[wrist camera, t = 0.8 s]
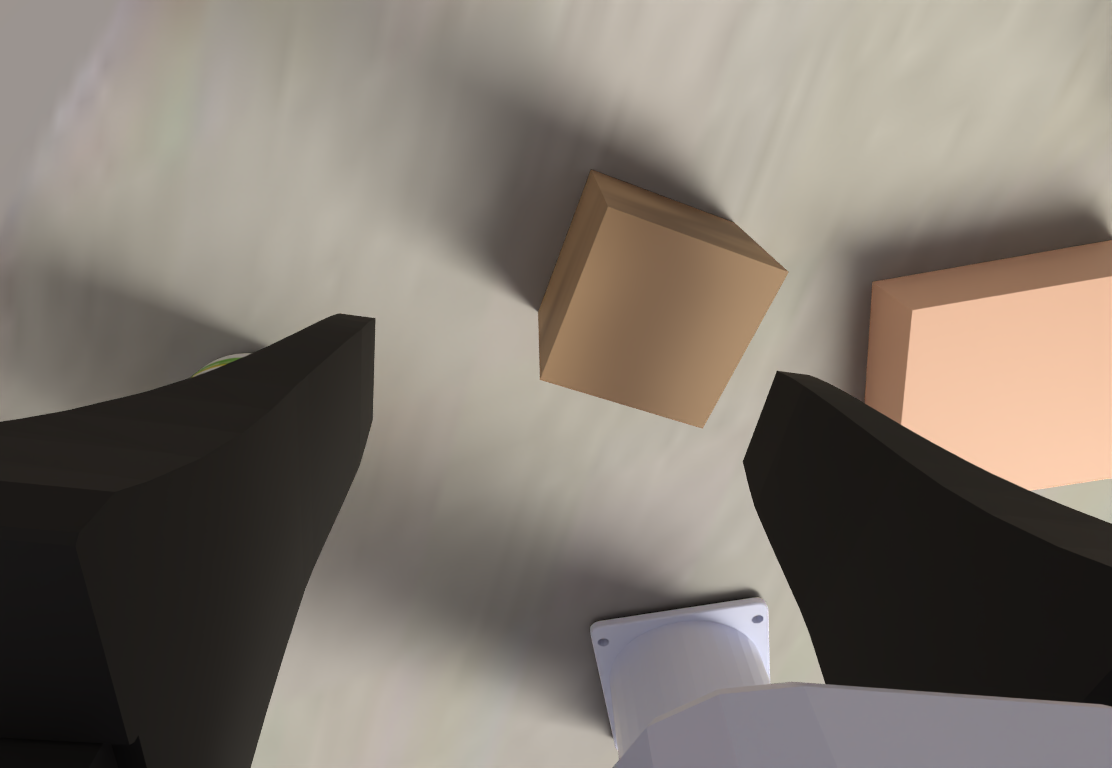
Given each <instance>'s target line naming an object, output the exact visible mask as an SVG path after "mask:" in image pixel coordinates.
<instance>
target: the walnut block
mask: <svg viewBox="0 0 1112 768" xmlns="http://www.w3.org/2000/svg"><path fill="white" fill-rule="evenodd" d="M787 274H788V271H787V270H786V269H785V268H784V267H783V266H781V265H780V264H779V263H778V262H777V261H776V260H775V259H774V258H773V257H772V256H770V255H769V254H768V253H767V252H766V251H765V250H764V249H763V248H762V247H761V246H759V245H758V244H757V243H756V242H755V241H754V240H753V239H752V238H751V237H750V236H748V235H747V234H746V233H745V232H744V231H743V230H742V229H741V228H740V227H739V226H738V225H736V224H735V223H734V222H731V221H728V220H726V219H723V218H720V217H718V216H715V215H712V214H710V213H707V212H704V211H702V210H699V209H696V208H694V207H691V206H688V205H685V204H683V203H680V202H677V201H675V200H672V199H669V198H667V197H664V196H661V195H659V194H656V193H653V192H651V191H648V190H645V189H643V188H640V187H637V186H635V185H632V184H629V183H627V182H624V181H621V180H618V179H616V178H613V177H610V176H608V175H605V174H602V173H600V172H597V171H594V170H592V169H591V171H590V173H589V176H588V179H587V181H586V184H585V187H584V190H583V192H582V195H581V198H580V200H579V203H578V206H577V208H576V211H575V214H574V217H573V219H572V222H571V225H570V227H569V230H568V233H567V235H566V238H565V241H564V244H563V246H562V249H561V252H560V254H559V257H558V260H557V263H556V265H555V268H554V271H553V273H552V276H551V279H550V281H549V284H548V287H547V290H546V292H545V295H544V298H543V300H542V303H541V306H540V308H539V311H538V323H539V360H540V380H543V381H546V382H549V383H553V384H556V385H559V386H563V387H566V388H569V389H573V390H576V391H579V392H583V393H586V394H589V395H593V396H596V397H599V398H603V399H606V400H609V401H613V402H616V403H619V404H623V405H626V406H629V407H633V408H636V409H639V410H643V411H646V412H649V413H653V414H656V415H659V416H663V417H666V418H669V419H673V420H676V421H679V422H683V423H686V424H689V425H693V426H696V427H699V428H703V427H704V425H705V423H706V421H707V420H708V418H709V416H710V414H711V412H712V411H713V409H714V407H715V405H716V403H717V401H718V400H719V398H720V396H721V394H722V392H723V390H724V389H725V387H726V385H727V383H728V381H729V380H730V378H731V376H732V374H733V372H734V370H735V369H736V367H737V365H738V363H739V361H740V360H741V358H742V356H743V354H744V352H745V350H746V349H747V347H748V345H749V343H750V341H751V340H752V338H753V336H754V334H755V332H756V330H757V329H758V327H759V325H760V323H761V321H762V319H763V318H764V316H765V314H766V312H767V310H768V309H769V307H770V305H771V303H772V301H773V299H774V298H775V296H776V294H777V292H778V290H779V289H780V287H781V285H782V283H783V281H784V279H785V278H786V276H787Z"/></svg>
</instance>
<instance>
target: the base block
mask: <svg viewBox="0 0 1112 768" xmlns="http://www.w3.org/2000/svg"><path fill="white" fill-rule="evenodd" d="M865 404H867V405H868V406H870V407H872V408H873V409H875V410H877V411H879V412H880V413H882V414H884V415H885V416H887V417H889V418H890V419H892V420H894V421H896V422H897V423H899V424H901V425H902V426H904V427H906V428H908V429H909V430H911V431H913V432H915V433H916V434H918V435H920V436H922V437H924V438H925V439H927V440H929V441H931V442H932V443H934V444H936V445H938V446H940V447H942V448H944V449H945V450H947V451H949V452H951V453H953V454H955V455H957V456H959V457H960V458H962V459H964V460H966V461H968V462H970V463H972V464H974V465H976V466H978V467H980V468H982V469H984V470H986V471H988V472H990V473H992V474H994V475H996V476H998V477H1001V478H1003V479H1005V480H1007V481H1009V482H1012V483H1014V484H1016V485H1018V486H1020V487H1022V488H1025V489H1027V490H1029V491H1031V490H1037V489H1044V488H1050V487H1057V486H1063V485H1070V484H1076V483H1083V482H1089V481H1096V480H1103V479H1109V478H1112V240H1109V241H1103V242H1097V243H1091V244H1086V245H1080V246H1074V247H1069V248H1063V249H1057V250H1052V251H1046V252H1040V253H1034V254H1029V255H1023V256H1017V257H1012V258H1006V259H1000V260H994V261H989V262H983V263H977V264H972V265H966V266H960V267H954V268H949V269H943V270H937V271H932V272H926V273H920V274H914V275H909V276H903V277H897V278H892V279H886V280H880V281H874V282H872V297H871V313H870V328H869V343H868V358H867V373H866V389H865Z"/></svg>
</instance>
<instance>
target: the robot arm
mask: <svg viewBox="0 0 1112 768" xmlns="http://www.w3.org/2000/svg"><path fill="white" fill-rule="evenodd" d="M374 350H375V318H369V317H362V316H354V315H346V314H336V315H333V316H330V317H328V318H326V319H323V320H321V321H319V322H317V323H315V324H313V325H311V326H309V327H307V328H305V329H303V330H301V331H299V332H297V333H295V334H293V335H290V336H288V337H286V338H284V339H282V340H280V341H278V342H276V343H274V344H272V345H270V346H268V347H266V348H263V349H261V350H259V351H256V352H254V353H252V354H249V355H247V356H245V357H242V358H240V359H237V360H235V361H233V362H230V363H228V364H226V365H223V366H221V367H219V368H216V369H214V370H211V371H208V372H206V373H203V374H200V375H197V376H194V377H192V378H189V379H186V380H183V381H179V382H176V383H173V384H170V385H167V386H163V387H160V388H157V389H154V390H150V391H147V392H143V393H140V394H136V395H131V396H127V397H123V398H118V399H114V400H110V401H106V402H101V403H97V404H93V405H89V406H84V407H80V408H76V409H72V410H67V411H62V412H56V413H51V414H45V415H39V416H34V417H28V418H22V419H16V420H10V421H3V422H0V768H251V764H252V761H253V757H254V754H255V750H256V747H257V743H258V740H259V736H260V733H261V729H262V726H263V722H264V719H265V715H266V712H267V708H268V705H269V702H270V699H271V695H272V692H273V689H274V686H275V682H276V679H277V676H278V672H279V669H280V666H281V663H282V659H283V656H284V653H285V650H286V646H287V643H288V640H289V637H290V634H291V631H292V628H293V625H294V622H295V618H296V615H297V612H298V609H299V606H300V603H301V600H302V597H303V594H304V591H305V588H306V586H307V583H308V581H309V578H310V576H311V573H312V571H313V568H314V566H315V564H316V561H317V559H318V557H319V555H320V552H321V550H322V548H323V546H324V544H325V541H326V539H327V537H328V535H329V533H330V530H331V528H332V526H333V524H334V522H335V519H336V517H337V515H338V513H339V511H340V508H341V506H342V504H343V502H344V500H345V497H346V495H347V493H348V491H349V488H350V486H351V484H352V482H353V479H354V477H355V475H356V472H357V470H358V468H359V465H360V462H361V459H362V455H363V452H364V449H365V445H366V442H367V438H368V434H369V431H370V427H371V423H372V420H373V386H374ZM743 464H744V468H745V472H746V476H747V481H748V485H749V489H750V492H751V496H752V499H753V503H754V506H755V509H756V511H757V513H758V516H759V518H760V521H761V523H762V525H763V528H764V530H765V532H766V534H767V537H768V539H769V541H770V544H771V546H772V548H773V550H774V553H775V555H776V557H777V559H778V561H779V564H780V566H781V568H782V570H783V573H784V575H785V577H786V579H787V582H788V584H789V586H790V588H791V590H792V593H793V595H794V597H795V599H796V602H797V604H798V606H799V608H800V611H801V613H802V616H803V618H804V621H805V623H806V626H807V628H808V631H809V634H810V637H811V640H812V643H813V646H814V649H815V652H816V655H817V659H818V662H819V665H820V668H821V671H822V674H823V677H824V681H825V684H815V683H801V682H785V683H775V684H771V683H770V657H769V618H768V607H767V604H766V602H765V600H764V599H762V598H759V597H754V598H748V599H741V600H734V601H728V602H721V603H715V604H708V605H701V606H695V607H688V608H682V609H675V610H669V611H662V612H655V613H649V614H642V615H636V616H629V617H622V618H616V619H609V620H603V621H598V622H595V623H594V624H592V626H591V627H590V634H591V639H592V644H593V648H594V653H595V657H596V662H597V666H598V671H599V675H600V680H601V684H602V689H603V694H604V698H605V703H606V707H607V712H608V716H609V721H610V725H611V730H612V734H613V739H614V743H615V748H616V749H617V750H618V755H619V761H618V762H617V763H616V764H615V765H614V767H613V768H1112V524H1111V523H1108V522H1105V521H1103V520H1100V519H1098V518H1095V517H1093V516H1090V515H1087V514H1085V513H1082V512H1080V511H1077V510H1074V509H1072V508H1069V507H1067V506H1064V505H1062V504H1059V503H1057V502H1055V501H1052V500H1050V499H1047V498H1045V497H1043V496H1040V495H1038V494H1036V493H1033V492H1031V491H1029V490H1027V489H1025V488H1022V487H1020V486H1018V485H1016V484H1014V483H1012V482H1009V481H1007V480H1005V479H1003V478H1001V477H998V476H996V475H994V474H992V473H990V472H988V471H986V470H984V469H982V468H980V467H978V466H976V465H974V464H972V463H970V462H968V461H966V460H964V459H962V458H960V457H959V456H957V455H955V454H953V453H951V452H949V451H947V450H945V449H944V448H942V447H940V446H938V445H936V444H934V443H932V442H931V441H929V440H927V439H925V438H924V437H922V436H920V435H918V434H916V433H915V432H913V431H911V430H909V429H908V428H906V427H904V426H902V425H901V424H899V423H897V422H896V421H894V420H892V419H890V418H889V417H887V416H885V415H884V414H882V413H880V412H879V411H877V410H875V409H873V408H872V407H870V406H868V405H867V404H865V403H863V402H861V401H860V400H858V399H856V398H854V397H853V396H851V395H849V394H847V393H846V392H844V391H842V390H840V389H838V388H836V387H834V386H833V385H831V384H829V383H827V382H824V381H822V380H820V379H818V378H815V377H813V376H810V375H804V374H796V373H789V372H781V371H777V373H776V375H775V378H774V380H773V383H772V386H771V388H770V391H769V394H768V396H767V399H766V402H765V404H764V407H763V410H762V412H761V415H760V418H759V420H758V423H757V426H756V428H755V431H754V433H753V436H752V439H751V441H750V444H749V447H748V449H747V452H746V455H745V457H744V460H743ZM756 615H758V616H756ZM602 638H605V639H602Z"/></svg>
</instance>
